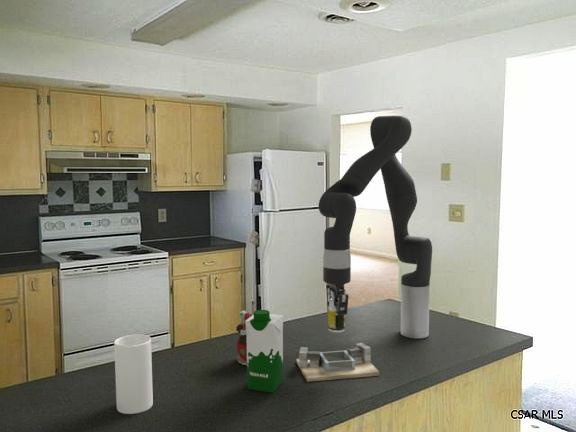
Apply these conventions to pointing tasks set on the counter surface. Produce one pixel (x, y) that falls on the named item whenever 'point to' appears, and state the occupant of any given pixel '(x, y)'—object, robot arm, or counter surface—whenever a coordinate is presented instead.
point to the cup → (133, 373)
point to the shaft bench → (336, 364)
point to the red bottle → (243, 336)
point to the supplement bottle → (333, 319)
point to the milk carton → (264, 351)
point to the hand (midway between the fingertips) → (336, 325)
